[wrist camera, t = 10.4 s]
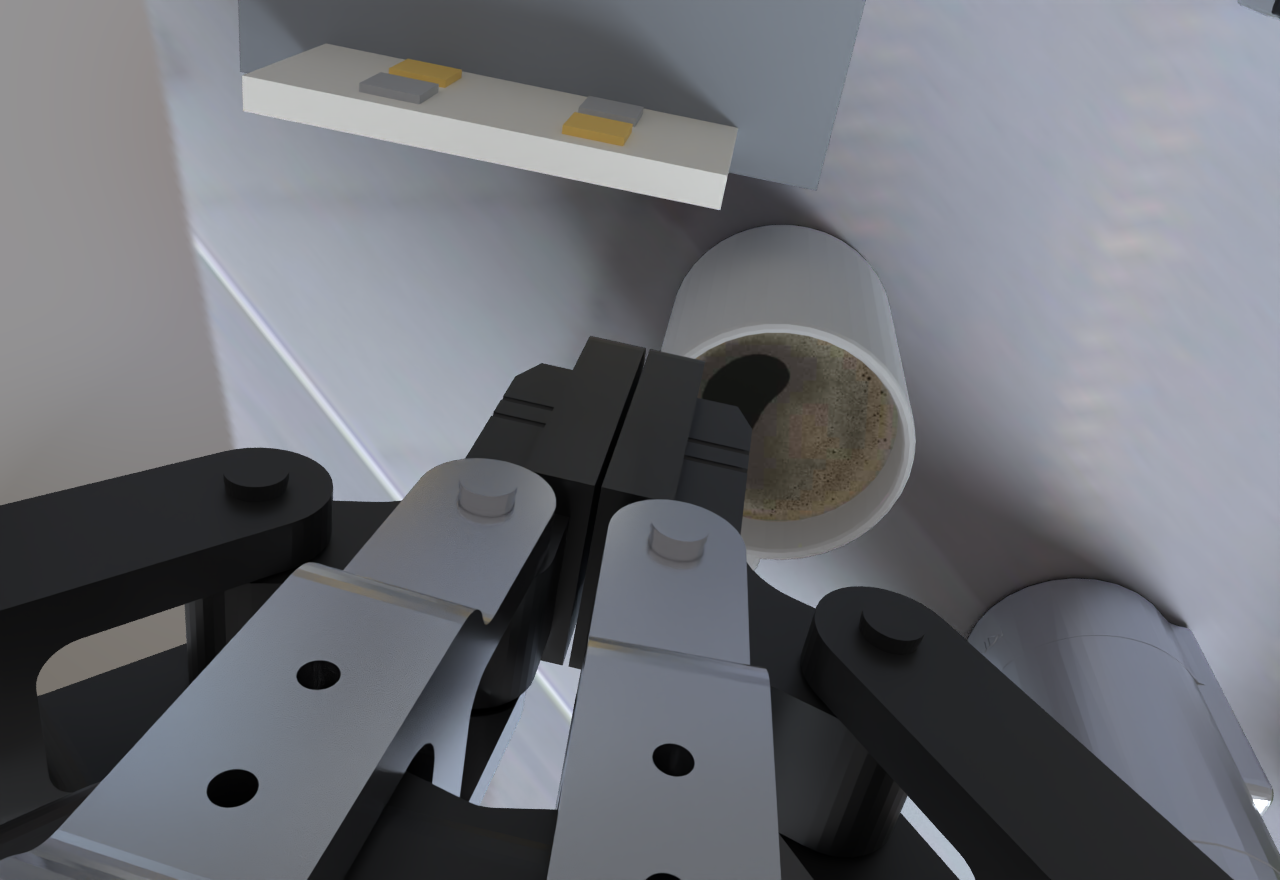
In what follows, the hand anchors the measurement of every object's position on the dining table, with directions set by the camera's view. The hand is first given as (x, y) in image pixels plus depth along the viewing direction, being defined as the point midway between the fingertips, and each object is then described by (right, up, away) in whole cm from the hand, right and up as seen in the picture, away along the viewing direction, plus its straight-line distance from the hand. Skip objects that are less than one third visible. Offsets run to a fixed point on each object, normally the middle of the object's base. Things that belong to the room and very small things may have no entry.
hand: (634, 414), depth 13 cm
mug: (+5, +4, +29) cm, 30 cm away
